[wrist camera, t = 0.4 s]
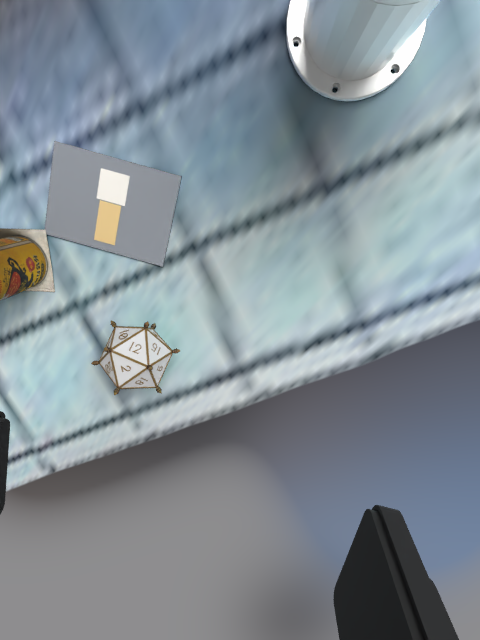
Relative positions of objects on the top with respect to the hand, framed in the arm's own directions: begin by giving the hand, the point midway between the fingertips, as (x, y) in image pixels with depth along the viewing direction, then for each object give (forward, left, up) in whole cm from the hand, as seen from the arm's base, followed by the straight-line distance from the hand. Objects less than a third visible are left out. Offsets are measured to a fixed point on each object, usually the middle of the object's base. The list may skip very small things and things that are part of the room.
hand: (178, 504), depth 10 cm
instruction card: (-3, -17, -36) cm, 40 cm away
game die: (+12, -10, -36) cm, 39 cm away
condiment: (+6, -27, -36) cm, 45 cm away
